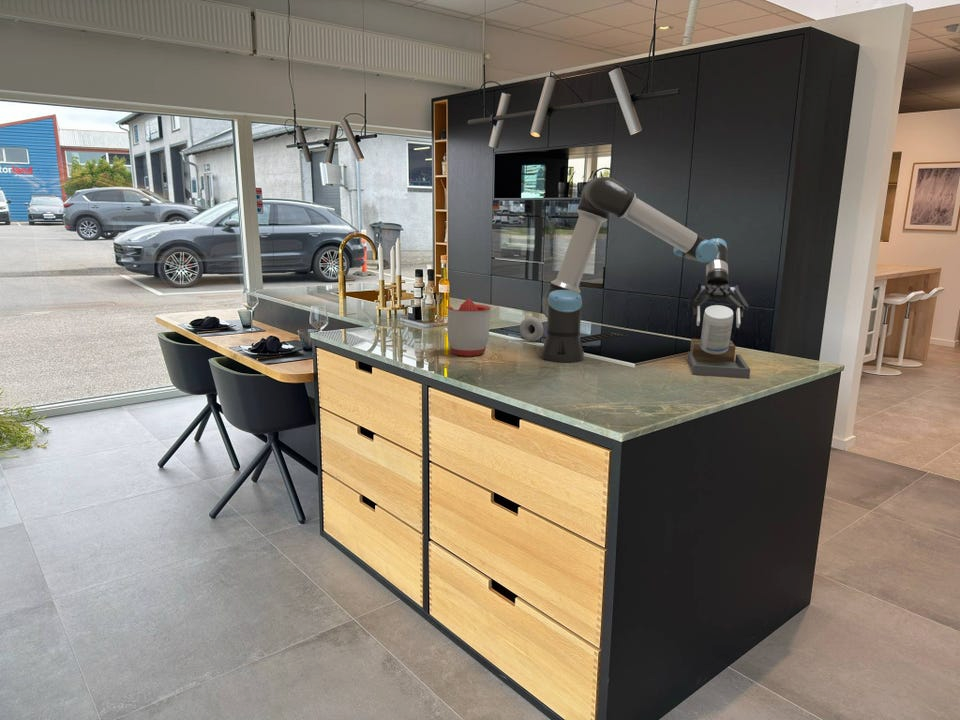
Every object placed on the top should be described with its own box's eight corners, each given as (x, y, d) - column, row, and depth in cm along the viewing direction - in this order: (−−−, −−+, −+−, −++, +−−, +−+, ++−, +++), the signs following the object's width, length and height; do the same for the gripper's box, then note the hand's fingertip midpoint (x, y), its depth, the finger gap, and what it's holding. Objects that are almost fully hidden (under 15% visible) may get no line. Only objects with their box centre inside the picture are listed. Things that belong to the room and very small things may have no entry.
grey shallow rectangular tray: (687, 359, 242) (687, 351, 241) (738, 362, 238) (739, 354, 237) (692, 374, 220) (693, 365, 220) (749, 378, 217) (750, 369, 216)
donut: (544, 342, 268) (545, 317, 266) (540, 343, 265) (541, 318, 263) (521, 339, 273) (522, 314, 271) (517, 340, 270) (518, 316, 268)
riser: (689, 354, 250) (691, 338, 249) (729, 356, 247) (731, 340, 246) (692, 360, 241) (693, 343, 239) (733, 363, 238) (735, 346, 237)
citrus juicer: (465, 346, 257) (466, 294, 253) (498, 354, 245) (499, 299, 241) (434, 351, 247) (434, 297, 242) (467, 360, 235) (467, 302, 230)
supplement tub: (734, 349, 235) (740, 312, 227) (715, 358, 231) (721, 322, 223) (712, 337, 242) (717, 301, 234) (693, 346, 238) (698, 310, 230)
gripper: (751, 284, 244) (754, 332, 232) (680, 281, 248) (679, 328, 237) (755, 270, 237) (758, 320, 226) (682, 267, 242) (682, 316, 231)
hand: (718, 324), depth 232 cm, fingers open, 12 cm apart
